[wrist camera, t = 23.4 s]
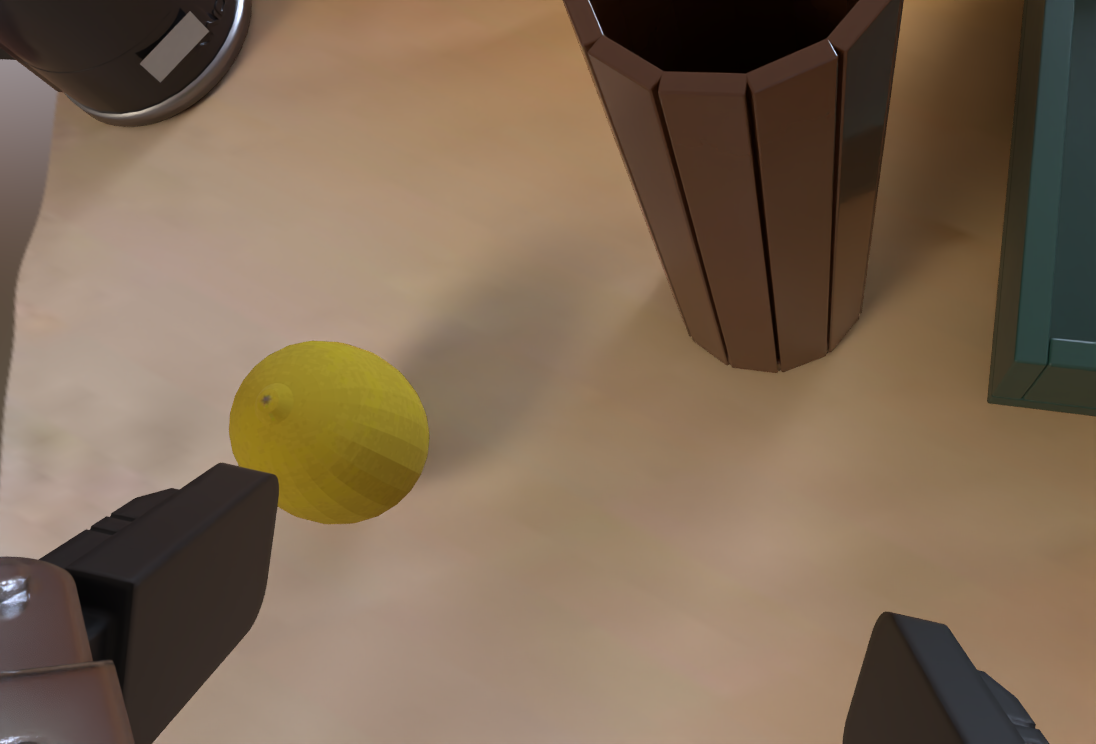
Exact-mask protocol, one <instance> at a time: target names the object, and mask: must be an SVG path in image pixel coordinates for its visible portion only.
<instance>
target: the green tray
mask: <svg viewBox="0 0 1096 744" xmlns="http://www.w3.org/2000/svg"><path fill="white" fill-rule="evenodd" d="M987 402H988V403H991V404H999V405H1007V406H1015V407H1024V408H1032V409H1040V410H1048V411H1057V412H1065V413H1073V414H1081V415H1089V416H1096V0H1024V7H1023V18H1022V29H1021V40H1020V51H1019V62H1018V73H1017V83H1016V94H1015V105H1014V116H1013V127H1012V138H1011V149H1010V160H1009V170H1008V181H1007V192H1006V203H1005V214H1004V225H1003V236H1002V247H1001V257H1000V268H999V279H998V290H997V301H996V312H995V323H994V334H993V344H992V355H991V366H990V377H989V388H988V399H987Z"/></svg>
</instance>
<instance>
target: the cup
mask: <svg viewBox="0 0 1096 744" xmlns="http://www.w3.org/2000/svg"><path fill="white" fill-rule="evenodd" d="M903 2H904V0H563V3H564V6H565V8H566V11H567V14H568V16H569V19H570V22H571V24H572V27H573V30H574V32H575V35H576V38H577V40H578V43H579V46H580V48H581V51H582V54H583V56H584V59H585V62H586V64H587V67H588V70H589V72H590V75H591V78H592V80H593V83H594V86H595V88H596V91H597V94H598V96H599V99H600V102H601V104H602V107H603V110H604V112H605V115H606V118H607V120H608V123H609V126H610V128H611V131H612V134H613V136H614V139H615V142H616V144H617V147H618V150H619V152H620V155H621V158H622V160H623V163H624V166H625V168H626V171H627V174H628V176H629V179H630V182H631V184H632V187H633V190H634V192H635V195H636V198H637V200H638V203H639V206H640V208H641V211H642V214H643V216H644V219H645V222H646V224H647V227H648V230H649V232H650V235H651V238H652V240H653V243H654V246H655V248H656V251H657V254H658V256H659V259H660V262H661V264H662V267H663V270H664V272H665V275H666V278H667V281H668V283H669V286H670V289H671V291H672V294H673V297H674V299H675V302H676V304H677V307H678V309H679V312H680V314H681V317H682V319H683V322H684V324H685V327H686V329H687V331H688V334H689V336H690V337H692V339H693V341H694V342H695V343H697V344H698V345H699V346H701V347H702V348H704V349H705V350H706V351H708V352H709V353H710V354H712V355H713V356H714V357H716V358H717V359H719V360H720V361H721V362H723V363H724V364H725V365H729V364H731V366H732V367H733V368H740V369H748V370H756V371H764V372H772V373H778V370H781V371H782V372H785V371H788V370H790V369H793V368H796V367H798V366H801V365H803V364H806V363H809V362H811V361H814V360H816V359H819V358H822V357H824V356H826V352H827V351H828V352H832V350H833V349H834V348H835V347H836V346H837V344H838V343H839V342H840V341H841V340H842V338H843V337H844V336H845V335H846V334H847V332H848V331H849V330H850V329H851V328H852V326H853V325H854V324H855V323H856V322H857V320H858V319H859V314H861V312H862V305H863V298H864V290H865V283H866V276H867V268H868V261H869V253H870V246H871V239H872V231H873V224H874V216H875V209H876V202H877V194H878V187H879V179H880V172H881V164H882V157H883V150H884V142H885V135H886V127H887V120H888V113H889V105H890V98H891V90H892V83H893V76H894V68H895V61H896V53H897V46H898V39H899V31H900V24H901V16H902V9H903Z"/></svg>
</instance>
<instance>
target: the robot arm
mask: <svg viewBox="0 0 1096 744" xmlns="http://www.w3.org/2000/svg"><path fill="white" fill-rule="evenodd" d="M250 17H251V0H0V59H11V60H17V61H18V62H20V63H21V64H22V65H23V66H25V67H26V68H27V69H29V70H30V71H31V72H33V73H34V74H35V75H36V76H38V77H39V78H41V79H42V80H43V81H44V82H46V83H47V84H48V85H50V86H51V87H52V88H54V89H55V90H56V91H58V92H64V93H65V94H66V95H67V97H68V98H69V99H70V100H71V101H72V102H73V103H75V104H76V105H77V106H79V107H80V108H81V109H82V110H84V111H85V112H86V113H88V114H89V115H90V116H92V117H93V118H95V119H97V120H99V121H101V122H104V123H107V124H110V125H114V126H122V127H135V126H143V125H148V124H153V123H156V122H159V121H162V120H165V119H167V118H170V117H172V116H174V115H176V114H178V113H180V112H182V111H184V110H185V109H187V108H189V107H190V106H191V105H193V104H194V103H196V102H197V101H198V100H200V99H201V98H202V97H203V96H205V95H206V94H207V93H208V92H209V91H210V90H211V89H212V88H213V87H214V86H215V85H216V84H217V83H218V82H219V81H220V80H221V79H222V77H223V76H224V75H225V74H226V72H227V71H228V70H229V68H230V67H231V65H232V64H233V62H234V60H235V59H236V57H237V55H238V53H239V51H240V49H241V47H242V45H243V43H244V40H245V37H246V35H247V31H248V27H249V23H250ZM278 498H279V482H278V478H277V476H276V475H274V474H271V473H266V472H262V471H257V470H253V469H248V468H244V467H239V466H235V465H230V464H226V463H219V464H217V465H215V466H214V467H212V468H211V469H209V470H208V471H206V472H205V473H203V474H202V475H200V476H199V477H197V478H196V479H194V480H193V481H191V482H190V483H189V484H187V485H186V486H184V487H183V488H181V489H180V490H178V489H173V488H170V489H166V490H163V491H159V492H156V493H152V494H148V495H145V496H141V497H137V498H135V499H133V500H132V501H130V502H128V503H127V504H125V505H124V506H122V507H121V508H119V509H117V510H116V511H114V512H113V513H111V516H110V517H107V516H106V517H105V518H103V519H102V520H100V521H99V522H97V523H95V524H94V525H92V526H91V529H90V530H84V531H83V532H81V533H80V534H78V535H77V536H75V537H73V538H72V539H70V540H69V541H67V542H66V543H64V544H62V545H61V546H59V547H58V548H56V549H55V550H53V551H51V552H50V553H48V554H47V555H45V556H44V557H42V558H40V559H39V560H36V559H31V558H23V557H0V744H152V743H153V741H154V740H155V739H156V738H157V737H158V736H159V735H160V733H161V732H162V731H163V730H164V729H165V728H166V726H167V725H168V724H169V723H170V722H171V721H172V720H173V718H174V717H175V716H176V715H177V714H178V713H179V711H180V710H181V709H182V708H183V707H184V706H185V704H186V703H187V702H188V701H189V700H190V699H191V698H192V696H193V695H194V694H195V693H196V692H197V691H198V689H199V688H200V687H201V686H202V685H203V684H204V683H205V681H206V680H207V679H208V678H209V677H210V676H211V674H212V673H213V672H214V671H215V670H216V669H217V667H218V666H219V665H220V664H221V663H222V662H223V661H224V659H225V658H226V657H227V656H228V655H229V654H230V652H231V651H232V650H233V649H234V648H235V647H236V646H237V644H238V643H239V642H240V641H241V640H242V639H243V637H244V636H245V635H246V634H247V633H248V631H249V630H250V629H251V627H252V625H253V624H254V622H255V620H256V618H257V615H258V613H259V610H260V608H261V605H262V602H263V598H264V595H265V590H266V585H267V579H268V571H269V564H270V557H271V549H272V542H273V535H274V528H275V520H276V513H277V506H278ZM1035 725H1036V724H1035V723H1034V721H1033V720H1032V719H1031V717H1030V716H1029V714H1028V713H1027V712H1026V710H1025V709H1024V707H1023V706H1022V705H1021V703H1020V702H1019V700H1018V699H1017V698H1016V697H1015V696H1014V695H1012V694H1011V693H1010V692H1009V691H1007V690H1006V689H1005V688H1004V687H1002V686H1001V685H1000V684H999V683H997V682H996V681H995V680H994V679H992V678H991V677H990V676H989V675H988V674H986V673H985V672H983V671H979V670H977V669H976V668H975V666H974V665H973V663H972V662H971V660H970V659H969V657H968V656H967V655H966V653H965V652H964V650H963V649H962V647H961V646H960V644H959V643H958V641H957V640H956V638H955V637H954V635H953V634H952V632H951V631H950V629H949V628H948V627H947V626H946V625H945V624H941V623H937V622H932V621H928V620H923V619H919V618H914V617H910V616H905V615H901V614H896V613H892V612H883V613H882V614H881V615H880V616H879V618H878V619H877V621H876V623H875V626H874V628H873V631H872V634H871V638H870V641H869V644H868V648H867V651H866V654H865V658H864V661H863V664H862V668H861V671H860V675H859V678H858V681H857V685H856V688H855V691H854V695H853V698H852V702H851V705H850V708H849V712H848V715H847V719H846V722H845V727H844V734H843V744H1049V743H1048V741H1047V740H1046V738H1045V737H1044V735H1043V734H1042V733H1041V731H1040V730H1038V729H1035Z"/></svg>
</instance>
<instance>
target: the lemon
mask: <svg viewBox="0 0 1096 744" xmlns="http://www.w3.org/2000/svg"><path fill="white" fill-rule="evenodd" d="M229 435H230V440H231V446H232V451H233V454H234V456H235V458H236V460H237V462H238V465H239V467H244V468H248V469H253V470H257V471H262V472H266V473H271V474H274V475H276V476H277V478H278V482H279V498H278V507H280V508H281V509H283V510H285V511H286V512H288V513H290V514H291V515H294V516H296V517H299V518H303V519H307V520H311V521H315V522H318V523H323V524H350V523H357V522H360V521H363V520H367V519H370V518H373V517H376V516H379V515H380V514H382V513H384V512H385V511H387V510H389V509H390V508H392V507H394V506H395V505H397V504H398V503H399V502H400V501H401V500H402V499H403V498H404V497H405V496H406V495H407V494H408V493H409V492H410V491H411V489H412V488H413V486H414V485H415V483H416V482H417V480H418V478H419V477H420V475H421V473H422V470H423V467H424V464H425V462H426V459H427V454H428V445H429V430H428V423H427V416H426V413H425V411H424V409H423V406H422V404H421V401H420V399H419V397H418V394H417V393H416V391H415V390H414V389H413V387H412V386H411V385H410V384H409V382H408V381H407V380H406V379H405V377H404V376H403V375H402V374H401V373H400V372H399V371H398V370H397V369H396V368H394V367H393V366H392V365H390V364H389V363H387V362H386V361H385V360H383V359H382V358H380V357H379V356H377V355H375V354H374V353H371V352H369V351H366V350H363V349H360V348H357V347H354V346H351V345H348V344H344V343H339V342H325V341H308V342H303V343H298V344H294V345H289V346H287V347H285V348H283V349H281V350H279V351H276V352H274V353H272V354H270V355H269V356H267V357H266V358H265V359H264V360H262V361H261V362H260V363H259V364H257V365H256V366H255V367H254V368H253V369H252V370H251V372H250V373H249V374H248V375H247V376H246V378H245V379H244V380H243V382H242V384H241V386H240V388H239V390H238V391H237V393H236V395H235V398H234V401H233V405H232V408H231V412H230V424H229Z"/></svg>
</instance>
